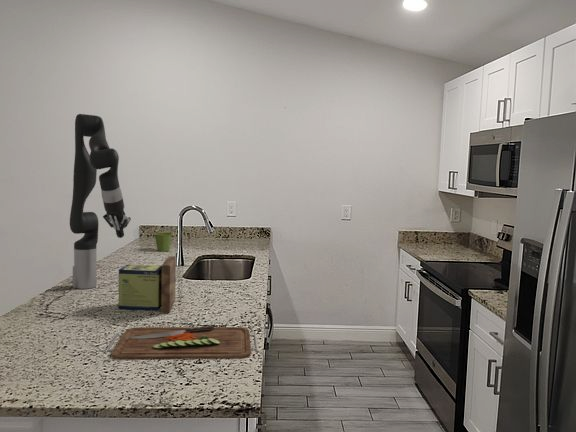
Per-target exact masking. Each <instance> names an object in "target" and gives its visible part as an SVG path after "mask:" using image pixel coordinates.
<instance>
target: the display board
mask: <svg viewBox="0 0 576 432" xmlns="http://www.w3.org/2000/svg"><path fill="white" fill-rule="evenodd" d="M176 264H177V256H176V255H172V256H169V255H168V256H167V257H166V259H165V260H164V262H163V263H162V264H161V266H162V298H161V308H160V310H161V311H160V312H161V314H170V313H171V311H172V309H173V306H174V304H175V301H176V276H177V275H176V273H177V272H176V268H177V265H176Z"/></svg>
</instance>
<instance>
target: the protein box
mask: <svg viewBox="0 0 576 432" xmlns="http://www.w3.org/2000/svg"><path fill="white" fill-rule="evenodd" d="M161 298H162V265H155V264H153V265H152V264H151V265H149V264H126V265H125V266H123V267H121V268H120V269H118V298H117V299H118V300H117V301H118V304H117V309H118V310H122V311H123V310H127V311H155V312H157V311H159V310H161Z"/></svg>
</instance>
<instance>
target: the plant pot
mask: <svg viewBox="0 0 576 432" xmlns="http://www.w3.org/2000/svg"><path fill="white" fill-rule="evenodd" d="M153 235H154V237H155V243H156V249H157V252H160V253H161V252H163V253H165V252H170V247H171V241H172V237H173V235H174V233H173V232H162V231H161V232H155V233H153Z"/></svg>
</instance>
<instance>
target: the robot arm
mask: <svg viewBox="0 0 576 432" xmlns="http://www.w3.org/2000/svg"><path fill="white" fill-rule="evenodd" d="M105 129H106V128H105V124H104V121H103V118H102V117H101V116H98V115H94V114H93V115H92V114H85V113H79V114H77V115H76V117H75V120H74V162H73V178H72V179H73V180H72V181H73V185H72V186H73V187H72V200H71V206H70V215H69V229H70V231H71V232H72V233H73V234H76V235H81V234H84V235H83V236H82V237H81V238H80V239H78V240H76V241H75V242H73V264H74V265H73V266H72V289H80V290H86V289H87V290H88V289H93V288H96V287H97V286H98V285H97V283H98V282H97V278H98V277H97V273H98V272H97V244H98V243H99V242H98V241H99V218H98V215H97V214H96V213H95V212H94V211H84V208H85V204H86V201H87V199H88V198H89V195H90V194H91V193H92V192H93V190H94V189H95V186H96V183H97V173H98V171H97V170H102V169H103V170H104V169H108V170H107V171H105V172H103V173H101V174H99V176H98V181H99V186H100V191H101V198H102V203H103V207H104V210H105V212H106V213H105V214H104V215H103V216H102V218H103V219H104V220H105V222H106V223H107V224H108V225H109V228H113V229H114V230H115V234H116V237H117V238H119V239H121V238H123V237H125V232H124V229H125V228H127V226H128V225H129V223H130V222H131V217H130V216H129V217H128V216H127V215H126V213H125V210H124V209H125V203H124V198H123V193H122V190H121V187H120V183H119V182H120V181H119V175H118V170H119V160H120V156H119V153H118V151H117V150H116V149H115V148H110V145H109V143H108V140H107V138H106V130H105ZM84 137H88V138H89V140H88V147H89V150H90V152H89V151H88V149H87V147H86V145H85V140H84Z"/></svg>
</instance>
